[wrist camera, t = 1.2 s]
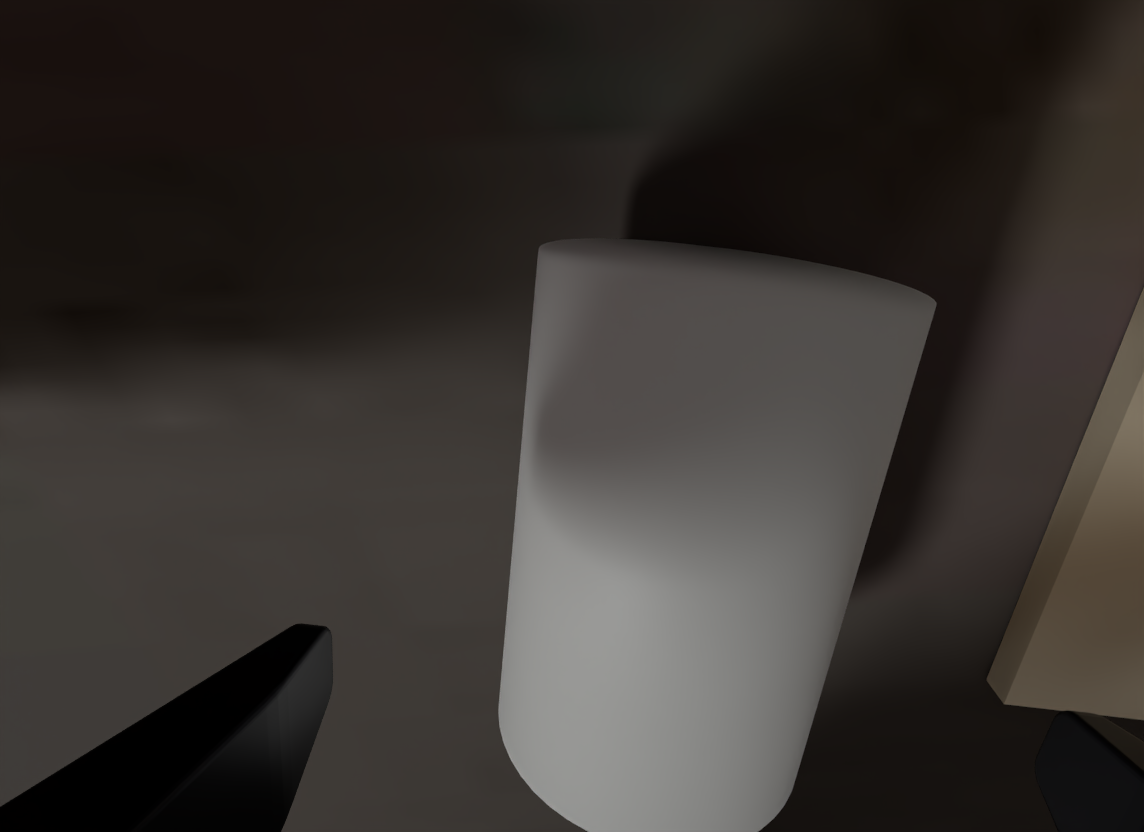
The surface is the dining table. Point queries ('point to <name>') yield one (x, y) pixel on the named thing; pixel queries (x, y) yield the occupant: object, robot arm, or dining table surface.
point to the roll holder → (1089, 568)
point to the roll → (691, 521)
